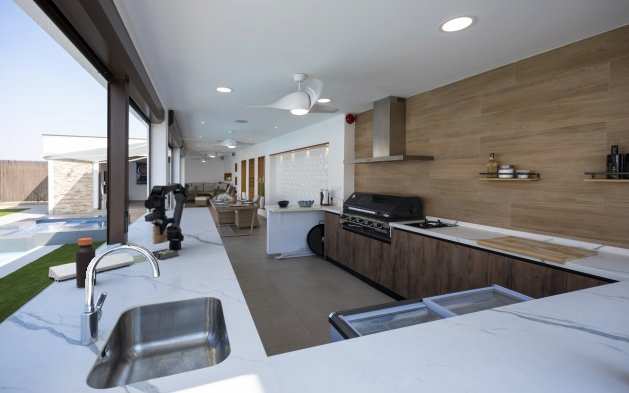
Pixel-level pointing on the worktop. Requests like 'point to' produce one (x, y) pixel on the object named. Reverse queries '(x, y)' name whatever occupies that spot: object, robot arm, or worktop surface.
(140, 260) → the sage stand
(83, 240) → the bottle
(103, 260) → the decorative molding
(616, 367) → the worktop surface
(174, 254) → the offcut rack
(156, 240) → the walnut sheet
